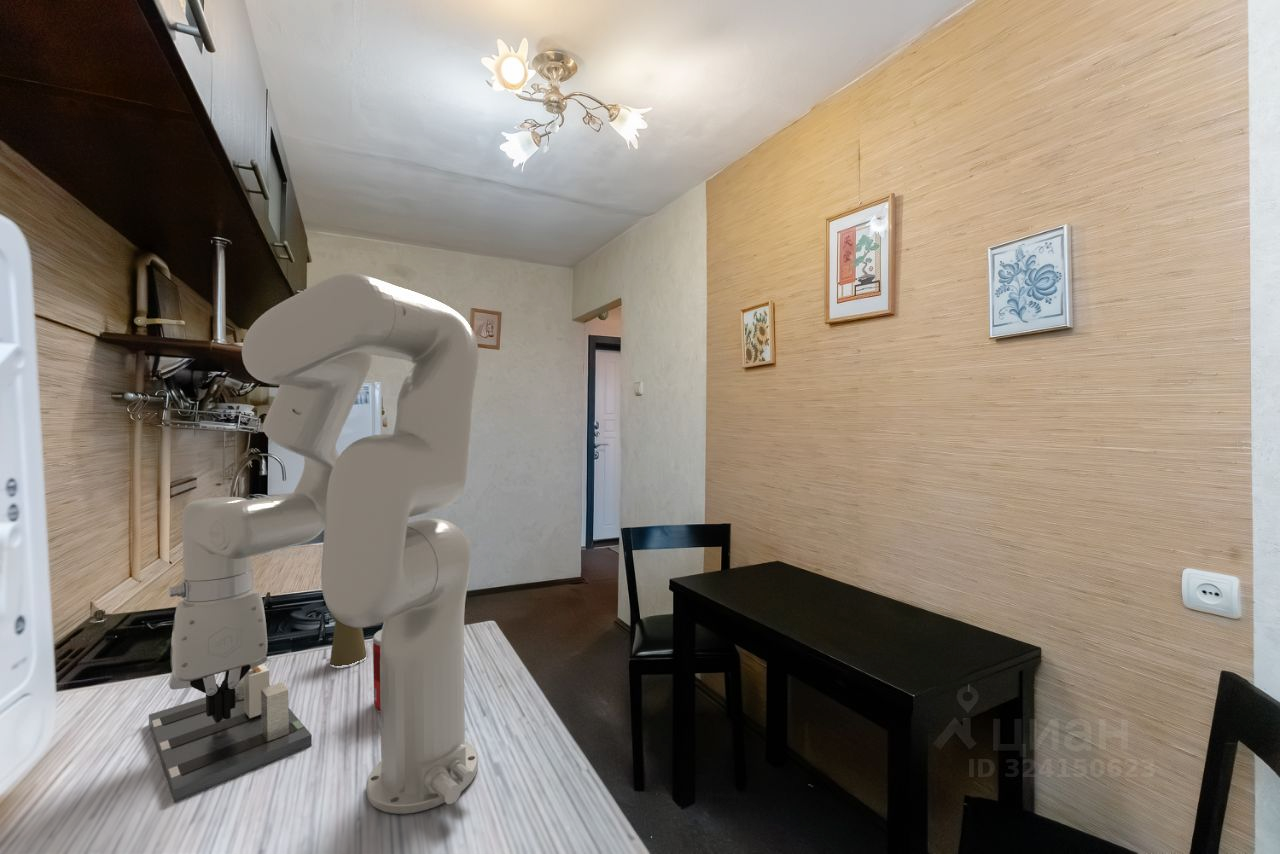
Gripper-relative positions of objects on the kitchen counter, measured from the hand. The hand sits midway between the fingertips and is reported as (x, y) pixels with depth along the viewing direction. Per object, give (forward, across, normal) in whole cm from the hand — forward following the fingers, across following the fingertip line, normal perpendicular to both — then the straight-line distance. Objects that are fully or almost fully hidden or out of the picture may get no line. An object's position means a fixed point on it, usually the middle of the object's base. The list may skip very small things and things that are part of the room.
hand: (221, 716), depth 72 cm
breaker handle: (+1, +4, 0) cm, 4 cm away
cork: (+3, +21, +12) cm, 24 cm away
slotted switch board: (+3, +1, 0) cm, 3 cm away
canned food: (+3, +21, -10) cm, 23 cm away
